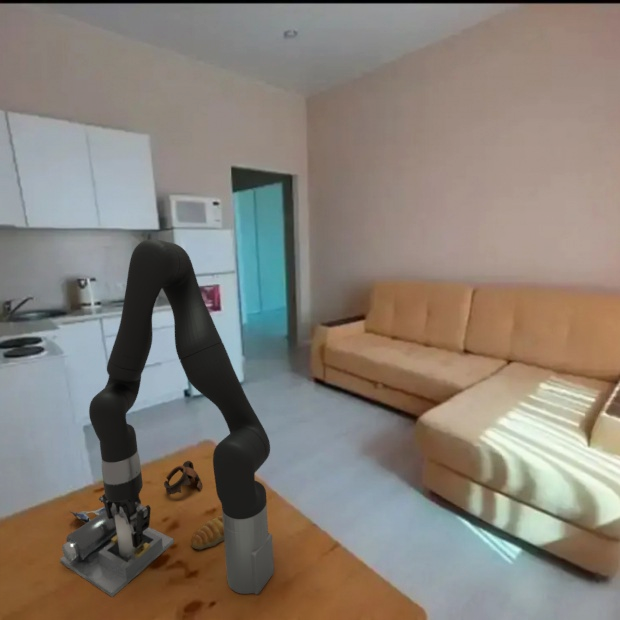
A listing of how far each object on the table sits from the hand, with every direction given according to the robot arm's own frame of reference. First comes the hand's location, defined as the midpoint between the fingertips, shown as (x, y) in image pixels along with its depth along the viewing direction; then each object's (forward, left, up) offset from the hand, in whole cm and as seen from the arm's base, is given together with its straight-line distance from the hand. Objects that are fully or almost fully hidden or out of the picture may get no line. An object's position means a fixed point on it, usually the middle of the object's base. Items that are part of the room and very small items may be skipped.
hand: (130, 540), depth 85 cm
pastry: (-12, -14, -6) cm, 19 cm away
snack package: (+20, -5, -6) cm, 21 cm away
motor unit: (+5, 0, -5) cm, 7 cm away
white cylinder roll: (0, 0, -2) cm, 2 cm away
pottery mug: (+9, -24, -5) cm, 27 cm away
